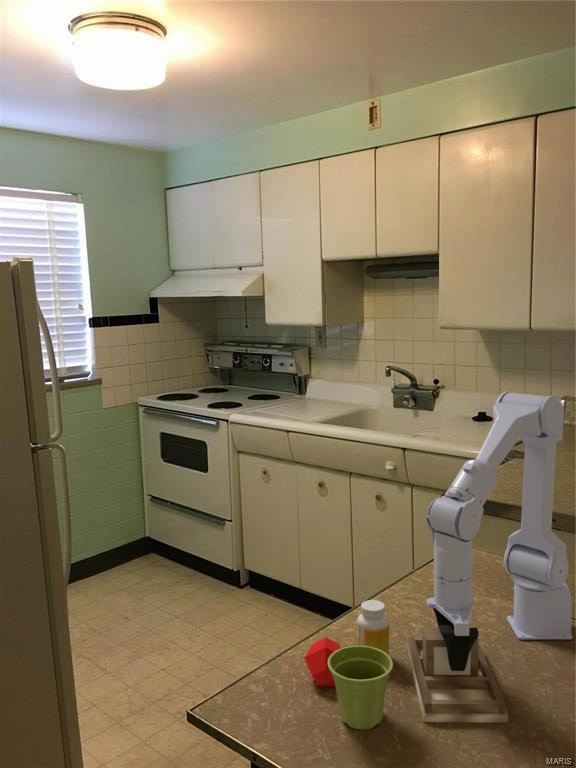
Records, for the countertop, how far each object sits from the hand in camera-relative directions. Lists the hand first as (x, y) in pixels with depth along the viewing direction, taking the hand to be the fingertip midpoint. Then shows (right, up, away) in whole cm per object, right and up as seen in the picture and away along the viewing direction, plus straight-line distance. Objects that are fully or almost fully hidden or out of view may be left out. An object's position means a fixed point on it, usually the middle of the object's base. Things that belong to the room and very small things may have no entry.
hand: (452, 656), depth 104 cm
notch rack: (0, -4, +1) cm, 4 cm away
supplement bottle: (-11, -4, +8) cm, 15 cm away
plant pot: (-15, -6, -8) cm, 18 cm away
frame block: (0, -3, 0) cm, 3 cm away
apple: (-20, -5, +3) cm, 21 cm away
